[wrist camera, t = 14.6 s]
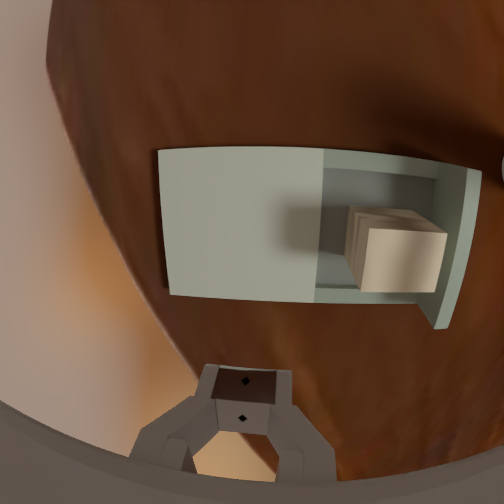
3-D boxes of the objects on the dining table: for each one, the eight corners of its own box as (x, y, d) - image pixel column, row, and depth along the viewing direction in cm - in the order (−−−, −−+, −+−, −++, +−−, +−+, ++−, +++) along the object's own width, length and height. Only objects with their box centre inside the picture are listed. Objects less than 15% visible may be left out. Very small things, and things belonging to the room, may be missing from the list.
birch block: (343, 255, 34) (360, 291, 26) (348, 205, 32) (369, 228, 24) (404, 257, 34) (434, 292, 25) (412, 210, 31) (447, 233, 23)
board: (174, 289, 39) (153, 319, 32) (163, 149, 33) (133, 153, 26) (425, 297, 36) (447, 328, 29) (448, 163, 29) (481, 171, 22)
